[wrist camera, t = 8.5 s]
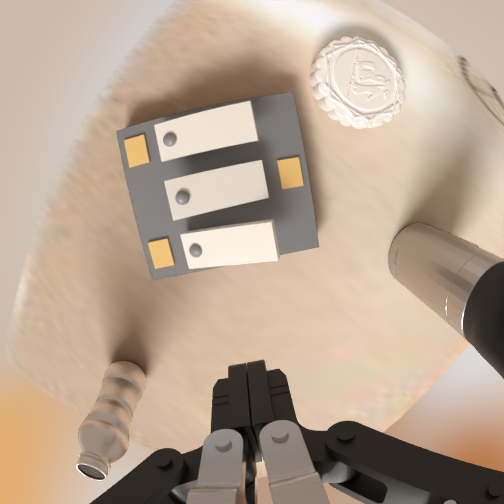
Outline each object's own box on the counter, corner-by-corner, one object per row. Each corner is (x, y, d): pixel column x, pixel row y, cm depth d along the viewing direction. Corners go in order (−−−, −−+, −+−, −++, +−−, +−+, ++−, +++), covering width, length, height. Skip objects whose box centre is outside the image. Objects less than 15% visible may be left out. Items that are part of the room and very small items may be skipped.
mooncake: (383, 142, 36) (397, 142, 33) (298, 109, 35) (304, 104, 31) (402, 65, 33) (415, 59, 30) (321, 29, 32) (329, 19, 28)
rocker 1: (251, 102, 29) (249, 100, 27) (258, 140, 30) (257, 140, 28) (158, 125, 30) (153, 124, 29) (165, 161, 31) (160, 162, 30)
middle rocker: (258, 160, 32) (262, 159, 31) (265, 197, 33) (269, 198, 32) (164, 181, 30) (164, 181, 29) (172, 219, 31) (173, 221, 30)
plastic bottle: (102, 357, 43) (53, 452, 23) (140, 352, 43) (100, 457, 23) (119, 388, 44) (82, 484, 25) (155, 385, 44) (129, 488, 25)
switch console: (288, 97, 34) (295, 89, 30) (312, 240, 39) (322, 250, 35) (124, 132, 34) (111, 129, 29) (158, 271, 39) (149, 285, 35)
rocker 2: (273, 219, 32) (270, 222, 30) (279, 256, 33) (277, 261, 31) (184, 231, 34) (179, 235, 33) (193, 265, 36) (188, 269, 34)
